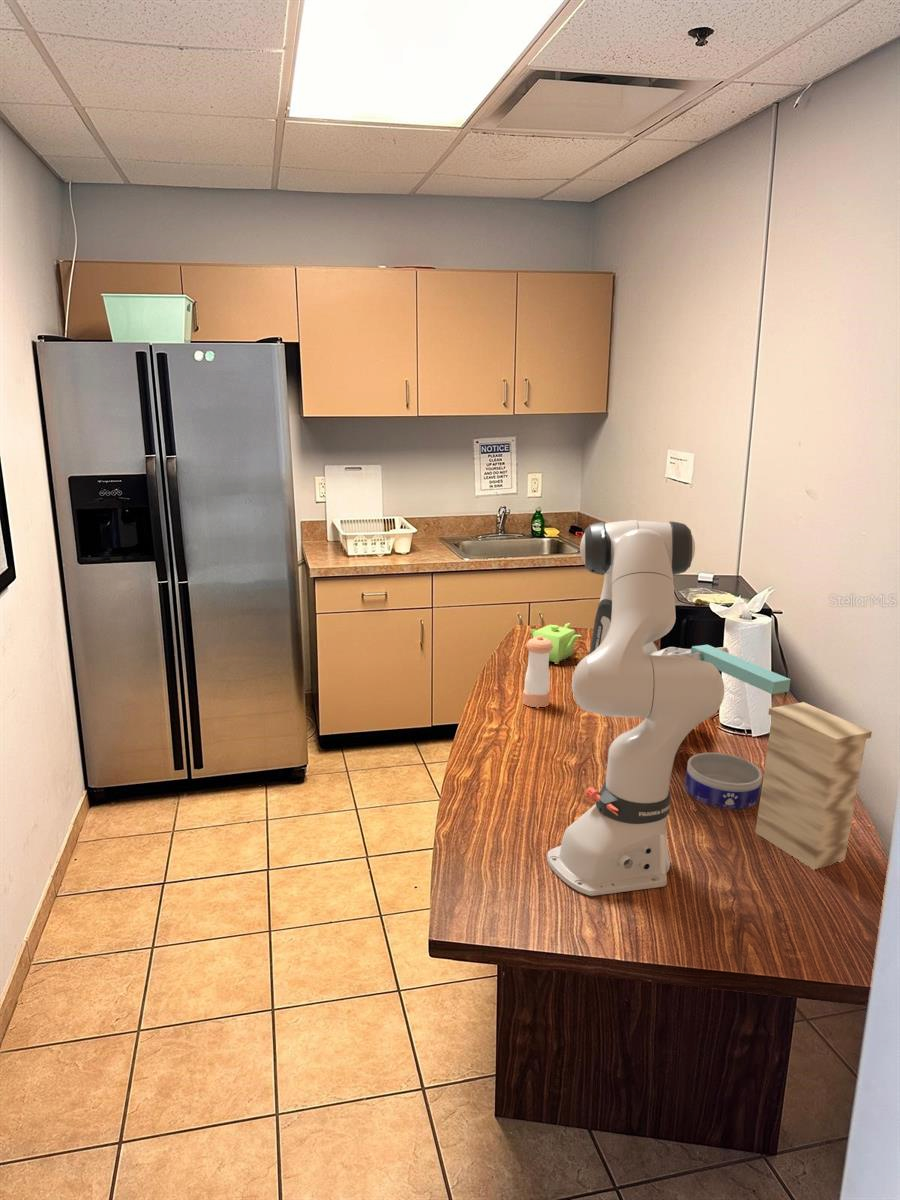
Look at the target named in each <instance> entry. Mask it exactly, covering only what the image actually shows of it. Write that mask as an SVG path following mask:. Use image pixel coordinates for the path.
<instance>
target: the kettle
mask: <svg viewBox="0 0 900 1200" xmlns="http://www.w3.org/2000/svg"><path fill="white" fill-rule="evenodd" d="M570 625H571V623H570V622H568V623H565V624H564V626H559V625H557V624H547V625H545V626H543V627H541V628H539V629H536V628H532V629H530V630H529V632H530V633H531V636H532V638H536V637H538V636H542V637H543V638H546V639H548V640H550V641H551V643H552V645H553V648H552V650H551V652H549V662H554V663H559V664H560V662H561V661H564V660H563V659H566V658H567V659H568V658H569V657H571V656H572V655H574V647H575V643H576V641H577V639H578V638H580V637H582V636H583V635H581V634H575V633H576V630H575V629H572V628H569V627H570Z"/></svg>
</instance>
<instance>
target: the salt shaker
mask: <svg viewBox="0 0 900 1200" xmlns="http://www.w3.org/2000/svg"><path fill="white" fill-rule="evenodd" d="M526 648H527V651H528V659H527V661H528V662H527V668H526V673H525V677H524V689H523V691H522V702H523V703H522V705H524V704H525V705H527V706H531V707H545V708H547V707H546V706H547V705H550V699H551V698H550V697H551V696H550V695H551V692H550V680H551V679H550V669H549V665H550V661H549V652H551V650H552V648H553V645H552V643H551V641H550V640H548V639H546V638H543V637H542V636H538V637H536V638H533V637H532V638H530V639H528V641H527V642H526ZM525 705H524V706H525ZM527 706H526V707H527Z"/></svg>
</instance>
